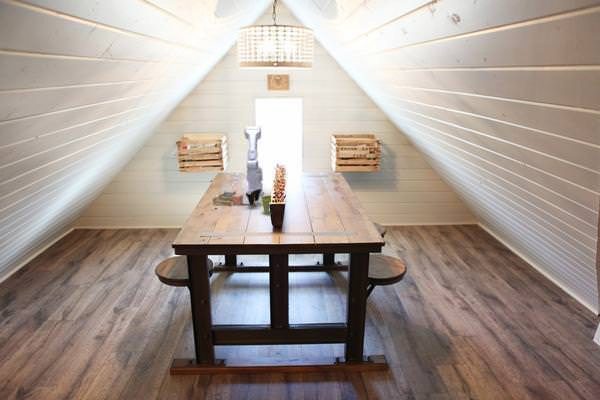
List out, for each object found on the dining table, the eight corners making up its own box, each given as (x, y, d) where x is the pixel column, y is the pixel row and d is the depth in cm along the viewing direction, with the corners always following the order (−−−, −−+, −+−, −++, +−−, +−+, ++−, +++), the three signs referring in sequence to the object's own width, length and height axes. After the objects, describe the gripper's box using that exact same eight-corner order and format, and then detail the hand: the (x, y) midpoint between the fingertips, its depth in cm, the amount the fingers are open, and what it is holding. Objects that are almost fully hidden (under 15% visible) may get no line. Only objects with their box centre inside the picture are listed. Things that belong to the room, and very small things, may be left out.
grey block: (229, 198, 279) (228, 190, 277) (236, 199, 278) (235, 190, 276) (226, 200, 275) (225, 192, 273) (233, 201, 274) (232, 192, 272)
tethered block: (235, 203, 270) (235, 193, 268) (256, 204, 267) (255, 194, 265) (232, 205, 266) (232, 195, 264) (253, 206, 263) (253, 196, 261)
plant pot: (274, 215, 247) (273, 200, 244) (258, 214, 250) (258, 199, 247) (280, 210, 255) (280, 196, 253) (265, 209, 258) (264, 194, 256)
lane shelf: (224, 197, 282) (224, 191, 281) (241, 198, 279) (241, 192, 278) (213, 204, 267) (212, 198, 266) (230, 206, 264) (230, 199, 263)
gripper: (255, 183, 253) (256, 207, 256) (264, 177, 266) (264, 199, 270) (243, 183, 254) (244, 206, 258) (252, 177, 268) (253, 199, 272)
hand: (254, 202), depth 264 cm, fingers open, 7 cm apart
